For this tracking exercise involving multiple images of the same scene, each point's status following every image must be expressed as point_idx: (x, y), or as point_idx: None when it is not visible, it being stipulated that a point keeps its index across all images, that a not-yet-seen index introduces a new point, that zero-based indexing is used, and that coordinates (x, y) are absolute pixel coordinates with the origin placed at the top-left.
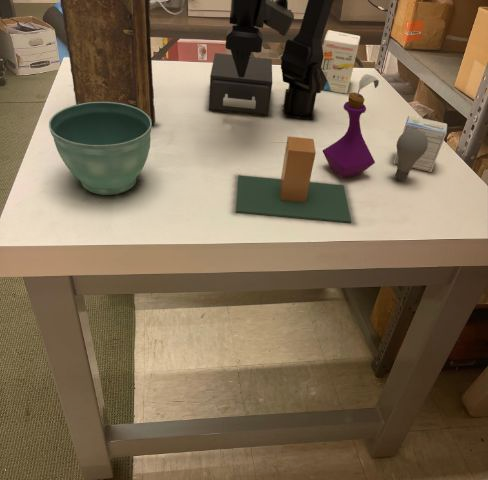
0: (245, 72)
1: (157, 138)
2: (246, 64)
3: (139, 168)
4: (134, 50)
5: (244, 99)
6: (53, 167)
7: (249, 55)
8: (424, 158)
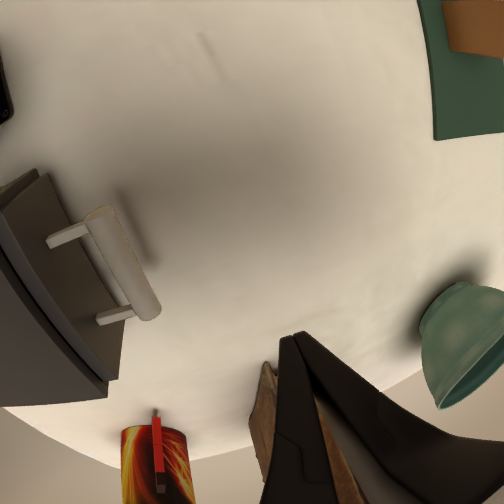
0: (321, 346)
1: (317, 335)
2: (365, 381)
3: (493, 288)
4: (343, 491)
5: (67, 265)
6: (412, 363)
7: (421, 420)
8: None
